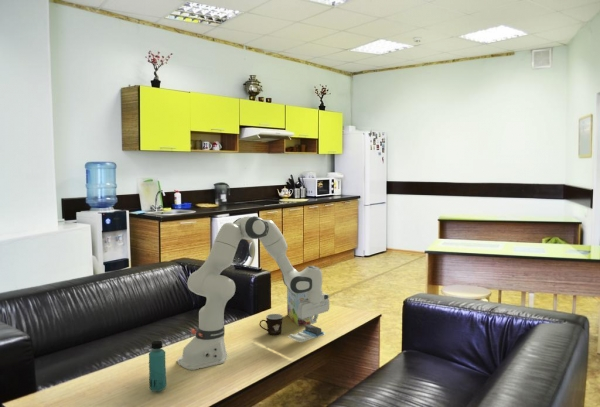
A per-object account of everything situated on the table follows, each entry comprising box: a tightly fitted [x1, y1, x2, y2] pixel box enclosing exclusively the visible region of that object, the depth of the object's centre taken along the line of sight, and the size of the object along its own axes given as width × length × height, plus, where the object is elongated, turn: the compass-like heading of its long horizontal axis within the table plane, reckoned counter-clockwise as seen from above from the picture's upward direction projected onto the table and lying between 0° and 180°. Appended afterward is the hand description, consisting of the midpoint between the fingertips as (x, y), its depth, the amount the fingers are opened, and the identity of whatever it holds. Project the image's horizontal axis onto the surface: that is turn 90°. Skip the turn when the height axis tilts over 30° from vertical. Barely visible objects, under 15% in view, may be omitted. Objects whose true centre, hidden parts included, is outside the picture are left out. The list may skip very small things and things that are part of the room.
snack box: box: [286, 286, 312, 326], centre depth 266 cm, size 22×9×26 cm, turn 17°
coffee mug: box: [259, 313, 284, 337], centre depth 244 cm, size 12×9×10 cm
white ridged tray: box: [287, 329, 327, 343], centre depth 242 cm, size 18×10×2 cm, turn 132°
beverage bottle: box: [148, 340, 167, 392], centre depth 183 cm, size 6×7×20 cm
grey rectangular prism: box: [304, 324, 322, 337], centre depth 245 cm, size 3×9×3 cm, turn 43°
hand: (313, 323), depth 245 cm, fingers closed
